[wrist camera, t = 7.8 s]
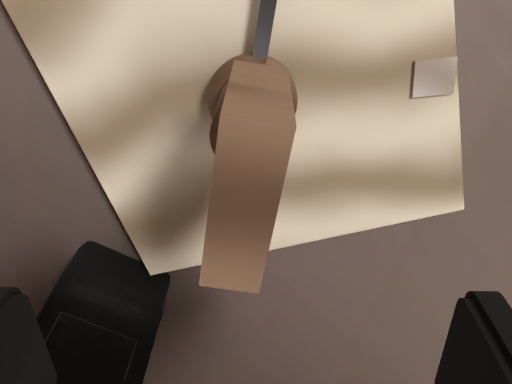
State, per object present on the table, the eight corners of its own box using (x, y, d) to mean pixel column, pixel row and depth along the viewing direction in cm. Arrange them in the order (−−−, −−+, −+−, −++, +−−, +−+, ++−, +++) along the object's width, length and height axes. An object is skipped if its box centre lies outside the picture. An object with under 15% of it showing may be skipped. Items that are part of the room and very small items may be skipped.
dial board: (454, 195, 27) (465, 211, 25) (155, 260, 30) (149, 277, 28) (428, -226, 17) (443, -241, 15) (-13, -62, 20) (-35, -61, 19)
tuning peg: (284, 155, 24) (294, 298, 14) (203, 143, 23) (162, 280, 14) (338, -95, 18) (414, -123, 8) (231, -116, 17) (191, -168, 8)
